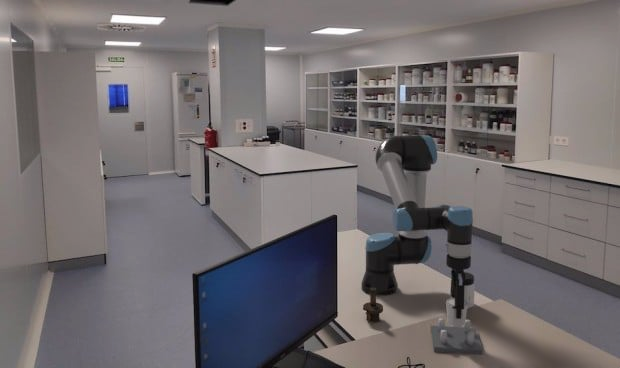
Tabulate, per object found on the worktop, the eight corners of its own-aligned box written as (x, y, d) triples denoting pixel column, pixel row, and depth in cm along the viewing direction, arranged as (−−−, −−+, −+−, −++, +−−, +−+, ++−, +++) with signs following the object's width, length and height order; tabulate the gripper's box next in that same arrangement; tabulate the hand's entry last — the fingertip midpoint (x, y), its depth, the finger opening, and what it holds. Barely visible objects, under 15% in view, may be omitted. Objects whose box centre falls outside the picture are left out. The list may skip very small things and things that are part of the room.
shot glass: (466, 328, 161) (467, 307, 160) (444, 325, 164) (445, 304, 162) (467, 319, 168) (468, 299, 166) (446, 316, 170) (447, 296, 169)
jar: (462, 311, 189) (463, 281, 187) (445, 303, 196) (446, 274, 194) (478, 305, 194) (479, 276, 192) (461, 298, 201) (462, 269, 199)
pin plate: (430, 329, 175) (430, 314, 174) (475, 332, 173) (475, 317, 172) (433, 351, 161) (434, 335, 160) (482, 354, 158) (483, 338, 157)
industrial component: (369, 326, 179) (369, 294, 176) (358, 318, 185) (358, 287, 183) (391, 320, 183) (391, 289, 180) (380, 312, 189) (380, 282, 187)
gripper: (443, 245, 172) (441, 308, 176) (450, 264, 152) (447, 334, 157) (466, 245, 170) (463, 309, 174) (475, 265, 151) (472, 336, 155)
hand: (456, 321), depth 166 cm, fingers closed on shot glass, 7 cm apart
